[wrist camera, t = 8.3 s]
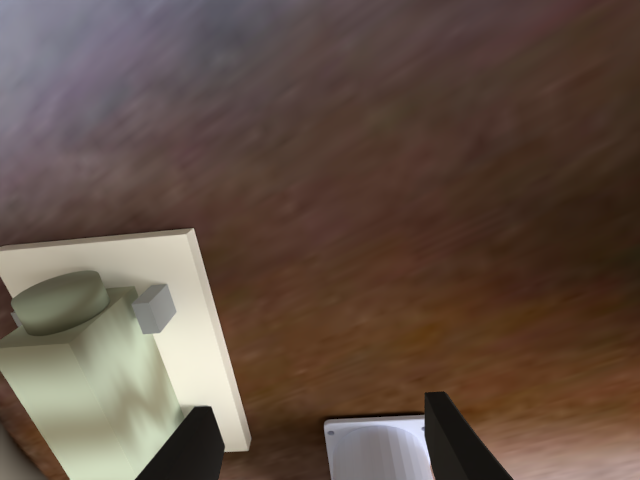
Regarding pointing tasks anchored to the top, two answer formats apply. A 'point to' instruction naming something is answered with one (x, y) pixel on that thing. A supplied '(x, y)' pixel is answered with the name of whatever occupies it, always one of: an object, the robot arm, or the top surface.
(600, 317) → the top surface
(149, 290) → the cradle jig
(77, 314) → the tall single-stud brick
